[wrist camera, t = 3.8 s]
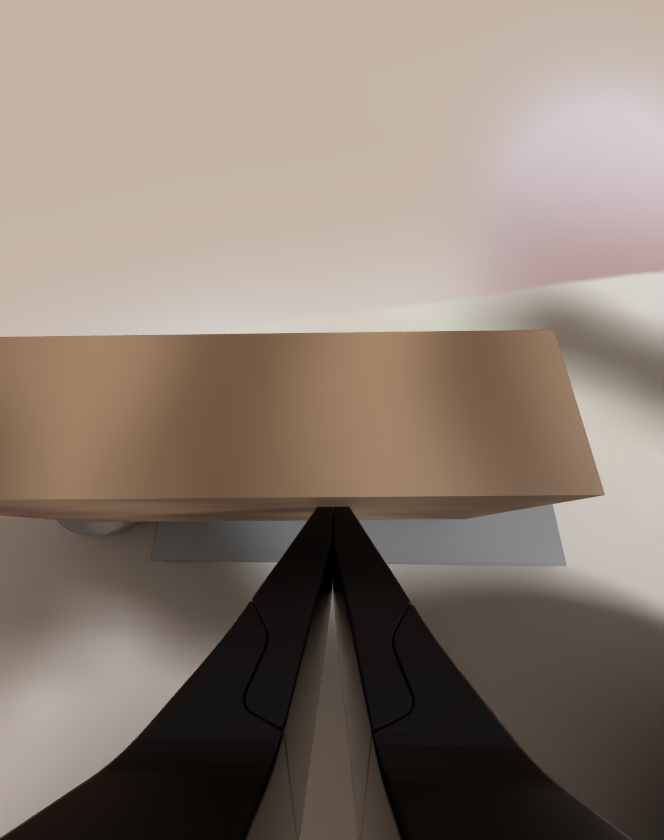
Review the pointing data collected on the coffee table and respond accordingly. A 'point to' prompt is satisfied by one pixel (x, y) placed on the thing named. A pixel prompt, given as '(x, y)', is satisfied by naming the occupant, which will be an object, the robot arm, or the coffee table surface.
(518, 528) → the label board
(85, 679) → the coffee table surface
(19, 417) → the block
